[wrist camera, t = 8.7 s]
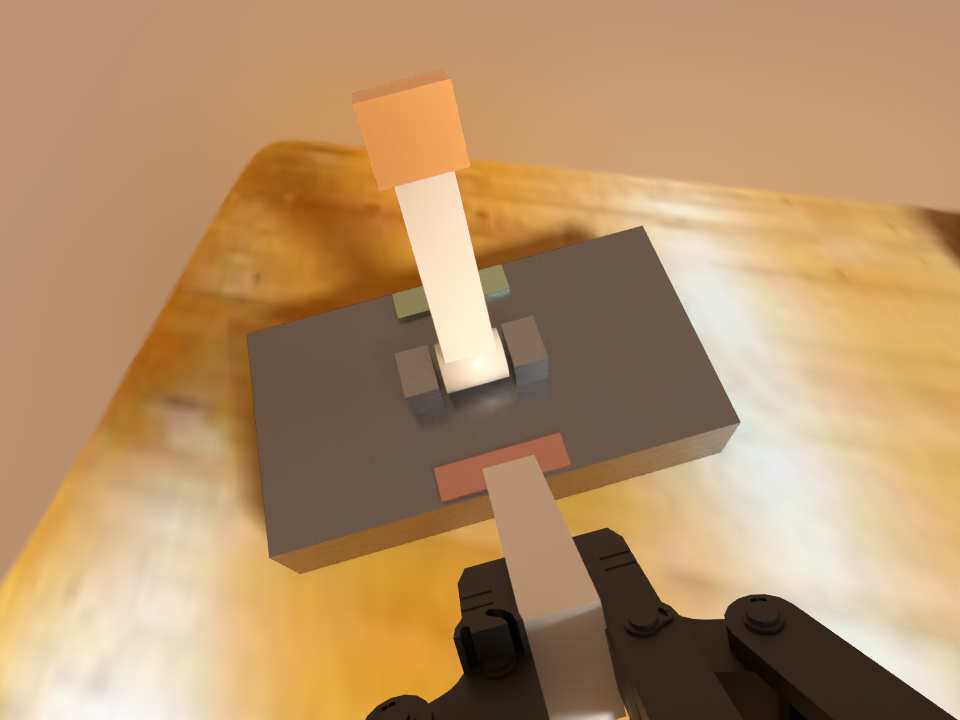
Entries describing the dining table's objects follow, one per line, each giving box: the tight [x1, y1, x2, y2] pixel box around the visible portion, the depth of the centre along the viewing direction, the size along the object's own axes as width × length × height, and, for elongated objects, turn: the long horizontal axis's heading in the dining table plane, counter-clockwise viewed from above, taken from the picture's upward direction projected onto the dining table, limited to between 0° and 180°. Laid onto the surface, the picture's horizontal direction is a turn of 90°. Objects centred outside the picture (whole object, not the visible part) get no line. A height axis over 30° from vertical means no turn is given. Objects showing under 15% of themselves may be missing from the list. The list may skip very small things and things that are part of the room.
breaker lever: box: [352, 70, 509, 394], centre depth 28 cm, size 4×3×14 cm
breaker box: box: [247, 226, 741, 574], centre depth 33 cm, size 22×12×6 cm, turn 105°
